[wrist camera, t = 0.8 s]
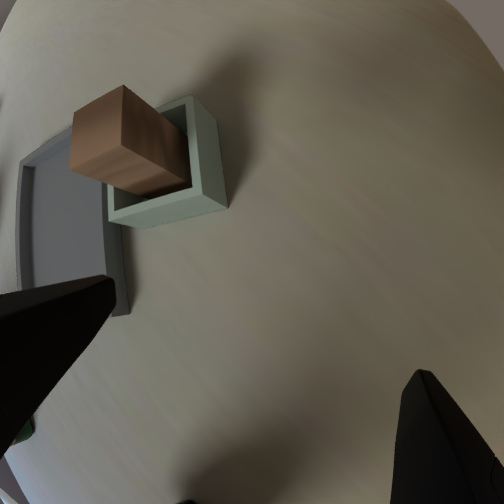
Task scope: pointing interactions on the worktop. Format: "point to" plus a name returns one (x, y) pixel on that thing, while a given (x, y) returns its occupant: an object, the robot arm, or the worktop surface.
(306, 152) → the worktop surface
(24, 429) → the coffee jar
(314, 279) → the worktop surface
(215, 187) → the mint green open box
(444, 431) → the robot arm
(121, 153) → the square block
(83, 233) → the tray
